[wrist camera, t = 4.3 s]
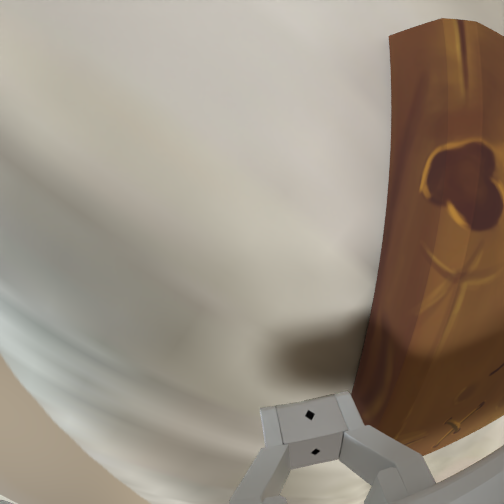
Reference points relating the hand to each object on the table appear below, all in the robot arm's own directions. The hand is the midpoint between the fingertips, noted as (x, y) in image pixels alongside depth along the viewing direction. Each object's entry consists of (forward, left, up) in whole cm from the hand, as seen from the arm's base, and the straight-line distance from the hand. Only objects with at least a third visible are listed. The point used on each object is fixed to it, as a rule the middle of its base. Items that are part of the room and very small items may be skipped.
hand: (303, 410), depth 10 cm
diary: (+14, +1, -7) cm, 16 cm away
